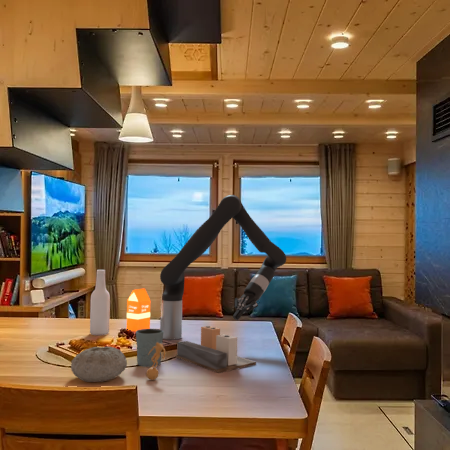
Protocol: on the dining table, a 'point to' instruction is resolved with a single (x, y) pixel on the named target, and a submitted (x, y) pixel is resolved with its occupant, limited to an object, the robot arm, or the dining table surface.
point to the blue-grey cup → (148, 346)
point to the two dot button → (209, 336)
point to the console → (208, 357)
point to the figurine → (153, 372)
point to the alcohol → (100, 307)
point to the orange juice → (138, 310)
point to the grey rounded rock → (98, 364)
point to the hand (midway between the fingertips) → (235, 318)
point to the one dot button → (227, 347)
